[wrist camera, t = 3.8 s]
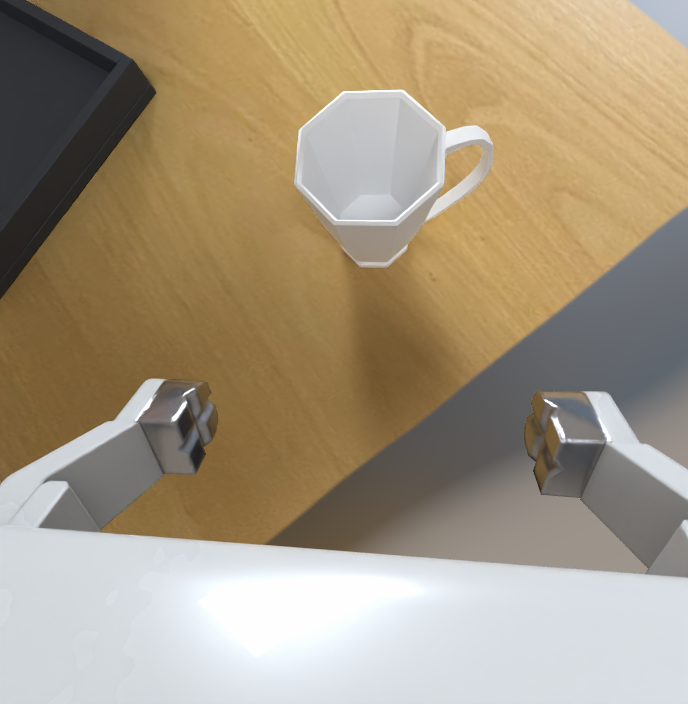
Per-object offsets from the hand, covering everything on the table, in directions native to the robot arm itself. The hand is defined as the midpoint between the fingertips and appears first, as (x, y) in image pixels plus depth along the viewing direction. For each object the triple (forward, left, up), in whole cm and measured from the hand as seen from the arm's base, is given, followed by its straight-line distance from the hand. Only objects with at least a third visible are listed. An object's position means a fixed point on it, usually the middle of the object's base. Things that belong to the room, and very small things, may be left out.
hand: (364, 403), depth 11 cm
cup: (+12, -1, -14) cm, 18 cm away
